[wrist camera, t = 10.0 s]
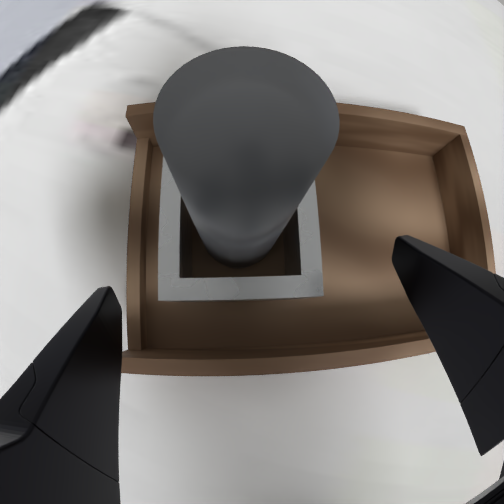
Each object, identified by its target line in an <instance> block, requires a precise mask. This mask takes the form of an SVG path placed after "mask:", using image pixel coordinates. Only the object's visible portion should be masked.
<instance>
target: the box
mask: <svg viewBox="0 0 504 504" xmlns="http://www.w3.org/2000/svg"><path fill="white" fill-rule="evenodd" d="M155 103H156V102H153V103H144V104H135V105H128V106H127V111H126V118H127V120H128V122H129V124H130V126H131V128H132V130H133V132H134V133H135V135H136V137H137V144H136V151H135V159H134V167H133V177H132V186H131V197H130V210H129V225H128V244H127V337H128V350H126V351H123V352H122V367H121V373H129V374H145V375H167V376H244V375H266V374H282V373H295V372H307V371H317V370H327V369H335V368H343V367H351V366H358V365H365V364H372V363H378V362H384V361H390V360H396V359H401V358H407V357H412V356H417V355H422V354H427V353H431V352H436V350H435V348H434V346H433V344H432V342H431V340H430V339H429V337H428V335H427V333H426V331H425V329H424V327H423V325H422V323H421V321H420V320H419V318H418V316H417V314H416V312H415V310H414V309H413V307H412V305H411V303H410V301H409V299H408V297H407V295H406V293H405V290H404V288H403V286H402V284H401V281H400V279H399V277H398V275H397V273H396V270H395V268H394V266H393V264H392V253H393V248H394V242H395V239H396V237H398V236H402V235H409V236H412V237H414V238H417V239H419V240H421V241H424V242H426V243H428V244H431V245H433V246H436V247H438V248H440V249H442V250H445V251H447V252H449V253H452V254H454V255H456V256H458V257H460V258H463V259H465V260H467V261H469V262H471V263H474V264H476V265H478V266H480V267H482V268H484V269H486V270H488V271H491V272H492V273H493V274H494V273H495V274H496V271H495V261H494V253H493V245H492V238H491V231H490V225H489V220H488V214H487V209H486V204H485V199H484V195H483V190H482V186H481V182H480V178H479V174H478V170H477V166H476V163H475V159H474V156H473V152H472V149H471V146H470V142H469V139H468V136H467V133H466V130H465V127H464V126H461V125H457V124H453V123H449V122H445V121H441V120H437V119H432V118H428V117H423V116H419V115H414V114H409V113H403V112H398V111H392V110H386V109H380V108H374V107H367V106H359V105H352V104H343V103H336V105H337V108H338V112H339V119H340V122H339V134H338V139H337V142H336V144H335V147H334V149H333V151H332V153H331V154H330V156H329V158H328V159H327V161H326V163H325V164H324V166H323V167H322V169H321V171H320V172H319V174H318V175H317V177H316V179H315V186H316V196H317V207H318V218H319V230H320V243H321V257H322V273H323V292H324V296H321V297H313V298H305V299H289V300H264V301H229V302H168V301H158V241H159V214H160V195H161V179H162V166H163V154H162V152H161V149H160V147H159V145H158V142H157V139H156V136H155V133H154V126H153V112H154V107H155ZM262 276H285V261H284V241H283V231H282V233H281V234H280V236H279V237H278V239H277V240H276V242H275V244H274V245H273V247H272V248H271V250H270V251H269V253H268V254H267V255H266V256H265V257H264V258H263V259H262V260H261V261H259V262H257V263H256V264H254V265H251V266H249V267H245V268H231V267H227V266H225V265H223V264H221V263H220V262H218V261H216V260H215V259H214V258H213V257H212V256H211V255H210V254H209V253H208V251H207V250H206V248H205V246H204V244H203V242H202V240H201V238H200V235H199V233H198V231H197V229H196V227H195V225H194V223H193V220H192V278H221V277H262Z"/></svg>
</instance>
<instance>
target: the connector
mask: <svg viewBox="0 0 504 504" xmlns="http://www.w3.org/2000/svg"><path fill="white" fill-rule="evenodd" d="M339 122H340V119H339V112H338V108H337V105H336V101H335V99H334V97H333V95H332V93H331V91H330V90H329V88H328V86H327V85H326V84H325V82H324V81H323V80H322V79H321V78H320V77H319V76H318V75H317V74H316V73H315V72H314V71H313V70H312V69H310V68H309V67H308V66H306V65H305V64H304V63H302V62H300V61H298V60H297V59H295V58H293V57H291V56H288V55H286V54H284V53H281V52H278V51H274V50H270V49H266V48H259V47H246V46H242V47H230V48H223V49H219V50H215V51H211V52H208V53H206V54H203V55H201V56H198V57H196V58H194V59H192V60H191V61H189V62H188V63H186V64H184V65H183V66H182V67H181V68H179V69H178V70H177V71H176V72H175V73H174V74H173V75H172V76H171V77H170V78H169V79H168V80H167V82H166V83H165V84H164V86H163V87H162V89H161V91H160V93H159V95H158V97H157V100H156V103H155V107H154V112H153V126H154V133H155V136H156V139H157V142H158V145H159V147H160V149H161V152H162V154H163V156H164V158H165V161H166V163H167V165H168V167H169V170H170V172H171V174H172V176H173V179H174V181H175V183H176V185H177V188H178V190H179V192H180V194H181V196H182V199H183V201H184V203H185V205H186V207H187V210H188V212H189V214H190V216H191V218H192V220H193V223H194V225H195V227H196V229H197V231H198V233H199V235H200V238H201V240H202V242H203V244H204V246H205V248H206V250H207V251H208V253H209V254H210V255H211V256H212V257H213V258H214V259H215V260H216V261H218V262H220V263H221V264H223V265H225V266H227V267H231V268H245V267H249V266H251V265H254V264H256V263H257V262H259V261H261V260H262V259H263V258H264V257H265V256H266V255H267V254H268V253H269V251H270V250H271V248H272V247H273V245H274V244H275V242H276V240H277V239H278V237H279V236H280V234H281V233H282V231H283V229H284V228H285V226H286V225H287V223H288V222H289V220H290V218H291V217H292V215H293V214H294V212H295V210H296V209H297V207H298V206H299V204H300V203H301V201H302V199H303V198H304V196H305V195H306V193H307V191H308V190H309V188H310V187H311V185H312V183H313V182H314V180H315V179H316V177H317V175H318V174H319V172H320V171H321V169H322V167H323V166H324V164H325V163H326V161H327V159H328V158H329V156H330V154H331V153H332V151H333V149H334V147H335V144H336V142H337V139H338V134H339Z"/></svg>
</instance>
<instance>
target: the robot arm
mask: <svg viewBox="0 0 504 504" xmlns="http://www.w3.org/2000/svg"><path fill="white" fill-rule="evenodd" d="M392 264H393V266H394V268H395V270H396V273H397V275H398V277H399V279H400V281H401V284H402V286H403V288H404V290H405V293H406V295H407V297H408V299H409V301H410V303H411V305H412V307H413V309H414V310H415V312H416V314H417V316H418V318H419V320H420V321H421V323H422V325H423V327H424V329H425V331H426V333H427V335H428V337H429V339H430V340H431V342H432V344H433V346H434V348H435V350H436V352H437V354H438V356H439V358H440V361H441V363H442V365H443V367H444V369H445V371H446V373H447V375H448V377H449V380H450V382H451V384H452V386H453V388H454V391H455V393H456V395H457V397H458V400H459V402H460V403H461V404H460V405H461V407H462V410H463V412H464V414H465V417H466V419H467V422H468V424H469V427H470V429H471V432H472V435H473V437H474V440H475V443H476V445H477V448H478V451H479V453H480V455H481V456H482V455H484V454H485V453H487V452H488V451H490V450H491V449H492V448H494V447H495V446H497V445H498V444H499V443H501V442H502V441H503V440H504V278H503V277H501V276H499V275H497V274H495V273H494V274H493V273H492V272H491V271H488V270H486V269H484V268H482V267H480V266H478V265H476V264H474V263H471V262H469V261H467V260H465V259H463V258H460V257H458V256H456V255H454V254H452V253H449V252H447V251H445V250H442V249H440V248H438V247H436V246H433V245H431V244H428V243H426V242H424V241H421V240H419V239H417V238H414V237H412V236H409V235H402V236H398V237H396V239H395V242H394V248H393V253H392ZM121 367H122V309H121V306H120V304H119V302H118V299H117V297H116V295H115V293H114V291H113V289H112V288H111V287H110V286H107V287H101V288H98V289H97V290H96V291H95V292H94V293H93V294H92V295H91V296H90V297H89V298H88V299H87V300H86V301H85V303H84V304H83V305H82V306H81V307H80V308H79V309H78V310H77V311H76V312H75V313H74V314H73V316H72V317H71V318H70V319H69V320H68V321H67V322H66V323H65V324H64V326H63V327H62V328H61V329H60V330H59V331H58V332H57V333H56V335H55V336H54V337H53V338H52V339H51V340H50V341H49V343H48V344H47V345H46V346H45V347H44V348H43V350H42V351H41V352H40V353H39V354H38V356H37V357H36V358H35V359H34V360H33V363H31V364H30V365H29V366H28V368H27V369H26V370H25V371H24V372H23V374H22V375H21V376H20V377H19V378H18V380H17V381H16V382H15V383H14V384H13V385H12V386H11V388H10V389H9V390H8V391H7V392H6V393H5V394H4V395H3V396H2V398H1V399H0V504H120V488H119V483H118V482H119V462H118V429H119V399H120V381H121ZM465 504H504V462H503V466H502V470H501V474H500V478H499V480H498V481H497V482H495V483H494V484H493V485H491V486H490V487H489V488H487V489H486V490H485V491H483V492H482V493H480V494H479V495H477V496H476V497H475V498H473V499H472V500H470V501H469V502H467V503H465Z"/></svg>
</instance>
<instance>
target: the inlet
mask: <svg viewBox="0 0 504 504" xmlns="http://www.w3.org/2000/svg"><path fill="white" fill-rule="evenodd" d="M283 241H284V261H285V276H262V277H221V278H192V218H191V216H190V214H189V212H188V210H187V207H186V205H185V203H184V201H183V199H182V196H181V194H180V192H179V190H178V188H177V185H176V183H175V181H174V179H173V176H172V174H171V172H170V170H169V167H168V165H167V163H166V161H165V158H164V156H163V166H162V179H161V195H160V214H159V241H158V301H168V302H229V301H264V300H289V299H305V298H313V297H321V296H324V292H323V273H322V257H321V243H320V230H319V218H318V207H317V196H316V186H315V180H314V182H313V183H312V185H311V187H310V188H309V190H308V191H307V193H306V195H305V196H304V198H303V199H302V201H301V203H300V204H299V206H298V207H297V209H296V210H295V212H294V214H293V215H292V217H291V218H290V220H289V222H288V223H287V225H286V226H285V228H284V229H283Z"/></svg>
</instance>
